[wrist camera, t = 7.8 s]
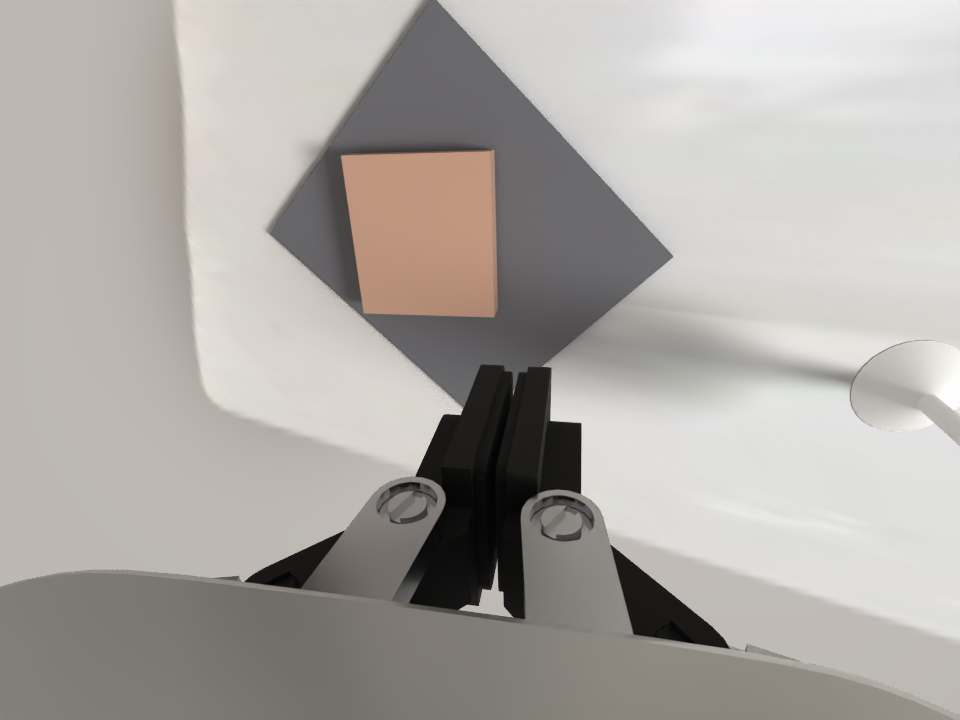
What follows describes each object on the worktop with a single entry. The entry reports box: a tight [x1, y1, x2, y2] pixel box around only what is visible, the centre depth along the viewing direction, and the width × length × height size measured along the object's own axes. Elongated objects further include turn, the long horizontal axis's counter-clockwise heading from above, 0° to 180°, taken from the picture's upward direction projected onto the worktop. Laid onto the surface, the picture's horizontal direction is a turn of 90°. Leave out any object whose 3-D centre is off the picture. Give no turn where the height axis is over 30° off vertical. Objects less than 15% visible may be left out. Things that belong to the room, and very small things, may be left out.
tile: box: [341, 150, 498, 317], centre depth 33 cm, size 10×2×9 cm
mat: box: [270, 0, 673, 407], centre depth 34 cm, size 20×18×1 cm
